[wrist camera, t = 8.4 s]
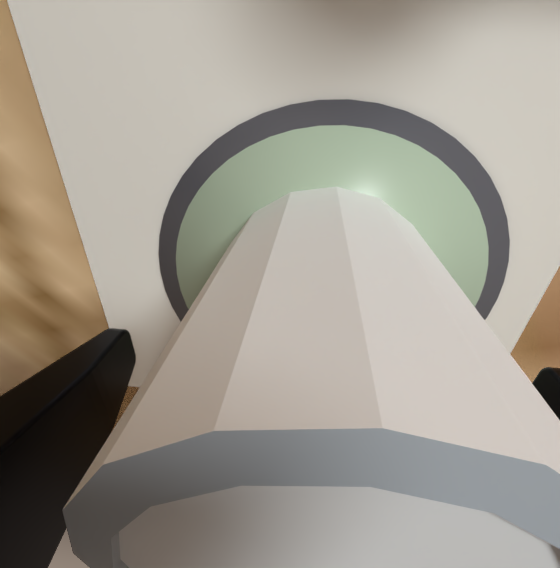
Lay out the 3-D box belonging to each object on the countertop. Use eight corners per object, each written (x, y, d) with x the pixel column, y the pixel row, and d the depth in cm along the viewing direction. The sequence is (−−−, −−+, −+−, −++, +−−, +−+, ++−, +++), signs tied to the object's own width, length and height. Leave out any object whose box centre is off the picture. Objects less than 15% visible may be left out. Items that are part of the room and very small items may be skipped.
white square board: (130, 380, 14) (126, 388, 14) (-9, -84, 7) (-27, -90, 6) (470, 412, 14) (474, 422, 13) (729, -64, 6) (754, -69, 6)
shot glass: (435, 115, 8) (776, 369, 2) (463, 344, 11) (614, 674, 5) (158, 210, 9) (-84, 485, 4) (257, 381, 13) (210, 658, 7)
